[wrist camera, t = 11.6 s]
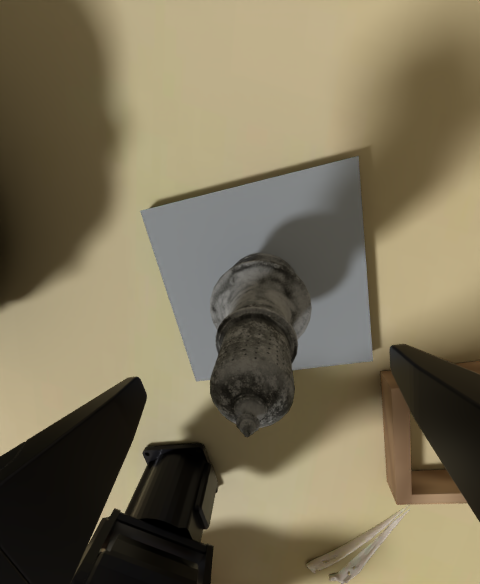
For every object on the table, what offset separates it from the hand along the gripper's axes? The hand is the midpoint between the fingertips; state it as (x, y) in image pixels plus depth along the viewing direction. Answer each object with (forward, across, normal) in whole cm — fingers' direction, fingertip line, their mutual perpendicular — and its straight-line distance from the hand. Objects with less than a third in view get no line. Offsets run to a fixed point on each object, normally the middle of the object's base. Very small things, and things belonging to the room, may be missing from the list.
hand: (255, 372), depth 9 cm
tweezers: (+11, -6, +30) cm, 32 cm away
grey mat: (+11, 0, 0) cm, 11 cm away
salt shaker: (+10, 0, 0) cm, 10 cm away
